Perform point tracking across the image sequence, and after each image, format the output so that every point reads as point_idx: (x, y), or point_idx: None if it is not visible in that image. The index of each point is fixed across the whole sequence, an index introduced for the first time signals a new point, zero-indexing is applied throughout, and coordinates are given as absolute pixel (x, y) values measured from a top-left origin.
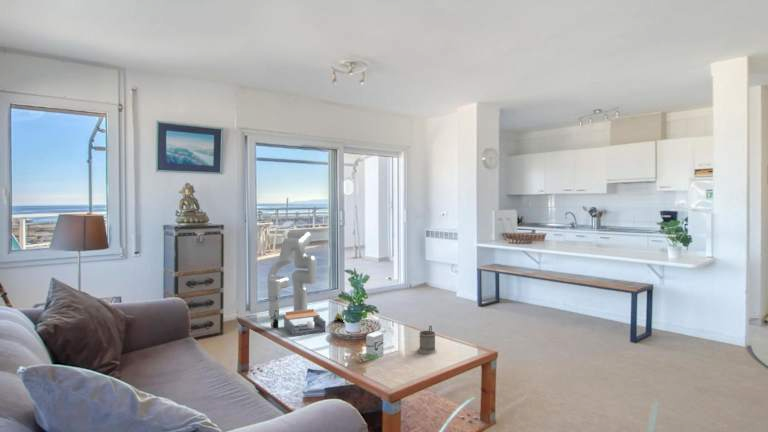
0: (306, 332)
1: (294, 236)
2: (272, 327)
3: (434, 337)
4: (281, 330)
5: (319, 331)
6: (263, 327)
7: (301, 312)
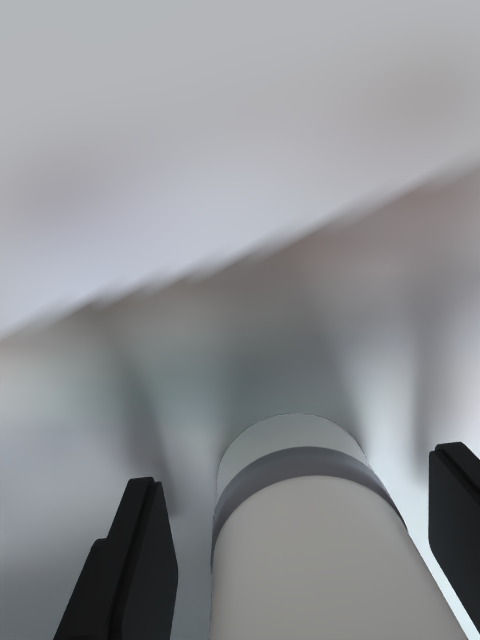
0: None
1: None
2: (236, 460)
3: None
4: (71, 589)
5: None
6: (468, 245)
7: None
